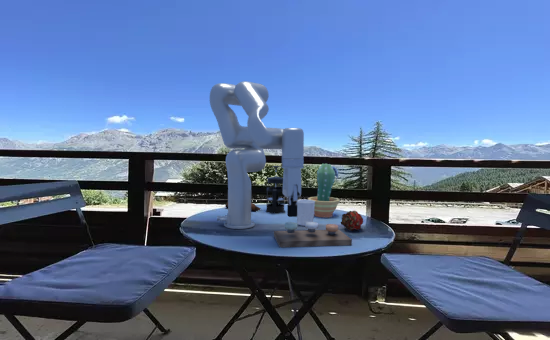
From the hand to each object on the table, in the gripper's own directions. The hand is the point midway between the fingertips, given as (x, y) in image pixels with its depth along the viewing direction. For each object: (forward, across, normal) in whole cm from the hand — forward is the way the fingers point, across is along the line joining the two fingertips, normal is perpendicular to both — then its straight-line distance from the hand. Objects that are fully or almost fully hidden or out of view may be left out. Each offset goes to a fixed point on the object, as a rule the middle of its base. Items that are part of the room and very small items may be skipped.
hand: (292, 216), depth 114 cm
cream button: (+6, 0, +7) cm, 9 cm away
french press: (+8, -50, +2) cm, 51 cm away
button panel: (+9, -1, +7) cm, 12 cm away
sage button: (+6, 0, 0) cm, 6 cm away
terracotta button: (+7, 0, +15) cm, 16 cm away
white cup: (+9, -24, +11) cm, 28 cm away
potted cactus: (+9, -40, +24) cm, 47 cm away
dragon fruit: (+9, -14, +28) cm, 32 cm away
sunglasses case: (+9, -58, -14) cm, 61 cm away
